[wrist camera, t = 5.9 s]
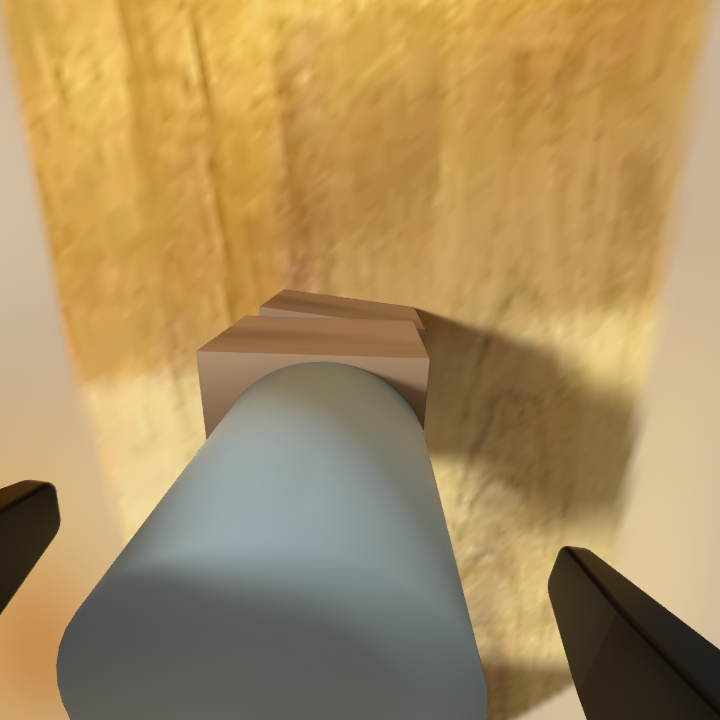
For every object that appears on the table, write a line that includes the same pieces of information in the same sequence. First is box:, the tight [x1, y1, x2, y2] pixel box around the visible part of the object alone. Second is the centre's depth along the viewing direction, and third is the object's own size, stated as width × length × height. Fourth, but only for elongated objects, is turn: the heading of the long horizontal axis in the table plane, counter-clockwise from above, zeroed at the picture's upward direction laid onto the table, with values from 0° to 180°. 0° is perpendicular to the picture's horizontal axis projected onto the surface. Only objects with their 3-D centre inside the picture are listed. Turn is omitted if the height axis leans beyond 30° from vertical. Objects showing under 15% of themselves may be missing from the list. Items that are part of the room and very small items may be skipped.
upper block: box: [196, 316, 430, 440], centre depth 11 cm, size 5×5×4 cm
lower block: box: [259, 289, 426, 343], centre depth 14 cm, size 5×5×4 cm
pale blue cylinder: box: [56, 362, 488, 720], centre depth 7 cm, size 5×5×5 cm
